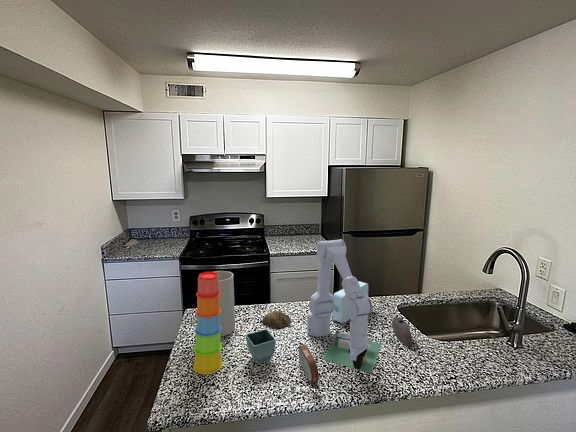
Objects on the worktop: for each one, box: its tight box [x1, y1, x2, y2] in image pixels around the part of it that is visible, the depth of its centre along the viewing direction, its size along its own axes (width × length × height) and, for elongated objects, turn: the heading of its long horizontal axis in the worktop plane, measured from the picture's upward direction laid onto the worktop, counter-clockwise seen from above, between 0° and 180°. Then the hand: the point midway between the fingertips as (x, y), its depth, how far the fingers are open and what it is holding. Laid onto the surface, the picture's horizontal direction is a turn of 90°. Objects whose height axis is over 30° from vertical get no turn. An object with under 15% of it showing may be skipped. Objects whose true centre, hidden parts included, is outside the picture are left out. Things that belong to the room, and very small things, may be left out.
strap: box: [333, 331, 373, 345], centre depth 121 cm, size 15×4×1 cm, turn 63°
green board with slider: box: [322, 329, 383, 374], centre depth 118 cm, size 18×20×4 cm
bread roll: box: [261, 310, 292, 330], centre depth 143 cm, size 13×12×5 cm
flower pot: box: [245, 328, 277, 365], centre depth 115 cm, size 9×9×9 cm
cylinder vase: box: [214, 270, 236, 337], centre depth 134 cm, size 12×12×25 cm
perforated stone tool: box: [391, 316, 413, 348], centre depth 127 cm, size 15×5×7 cm, turn 179°
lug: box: [362, 352, 367, 366], centre depth 113 cm, size 3×6×4 cm, turn 153°
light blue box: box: [332, 281, 369, 324], centre depth 149 cm, size 23×6×13 cm, turn 136°
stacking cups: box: [192, 271, 224, 375], centre depth 109 cm, size 10×10×35 cm
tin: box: [297, 344, 320, 385], centre depth 106 cm, size 15×3×8 cm, turn 15°
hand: (357, 367), depth 106 cm, fingers closed
